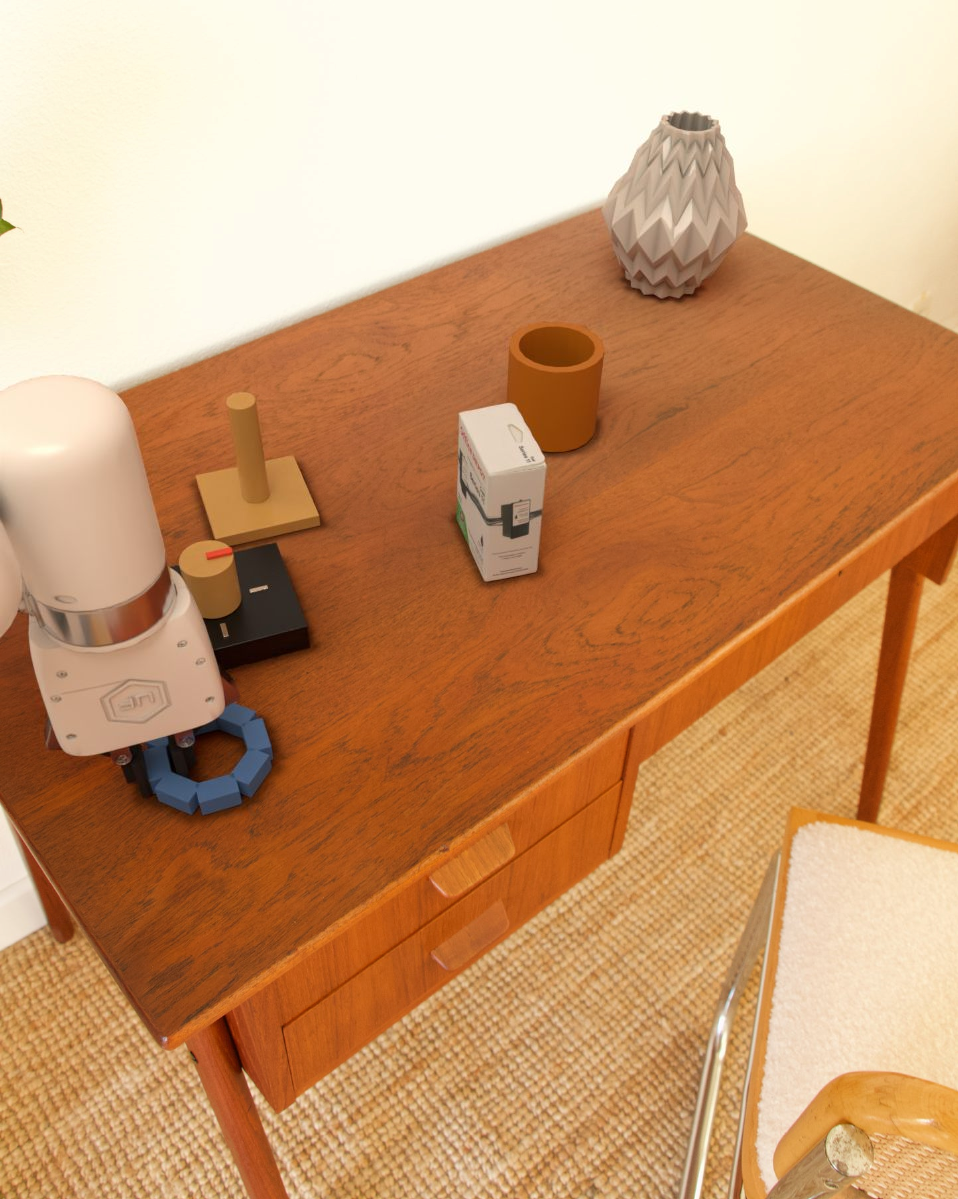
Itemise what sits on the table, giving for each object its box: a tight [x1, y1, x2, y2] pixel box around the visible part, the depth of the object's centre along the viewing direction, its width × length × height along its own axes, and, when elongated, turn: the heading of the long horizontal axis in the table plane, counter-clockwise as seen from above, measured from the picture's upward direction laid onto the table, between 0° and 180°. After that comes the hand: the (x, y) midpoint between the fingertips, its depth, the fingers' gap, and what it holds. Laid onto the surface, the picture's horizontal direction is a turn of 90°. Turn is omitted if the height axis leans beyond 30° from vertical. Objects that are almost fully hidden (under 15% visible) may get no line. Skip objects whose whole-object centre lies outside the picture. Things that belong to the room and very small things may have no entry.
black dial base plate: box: [169, 542, 311, 671], centre depth 80 cm, size 12×10×3 cm
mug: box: [506, 321, 606, 453], centre depth 98 cm, size 9×12×9 cm
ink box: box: [456, 402, 548, 582], centre depth 84 cm, size 9×5×12 cm, turn 17°
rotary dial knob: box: [178, 539, 242, 619], centre depth 77 cm, size 4×4×5 cm
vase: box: [601, 109, 749, 300], centre depth 114 cm, size 16×16×18 cm
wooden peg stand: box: [195, 391, 321, 547], centre depth 87 cm, size 9×9×11 cm
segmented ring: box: [143, 702, 274, 816], centre depth 71 cm, size 8×8×2 cm
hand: (163, 773), depth 71 cm, fingers closed on segmented ring, 2 cm apart
